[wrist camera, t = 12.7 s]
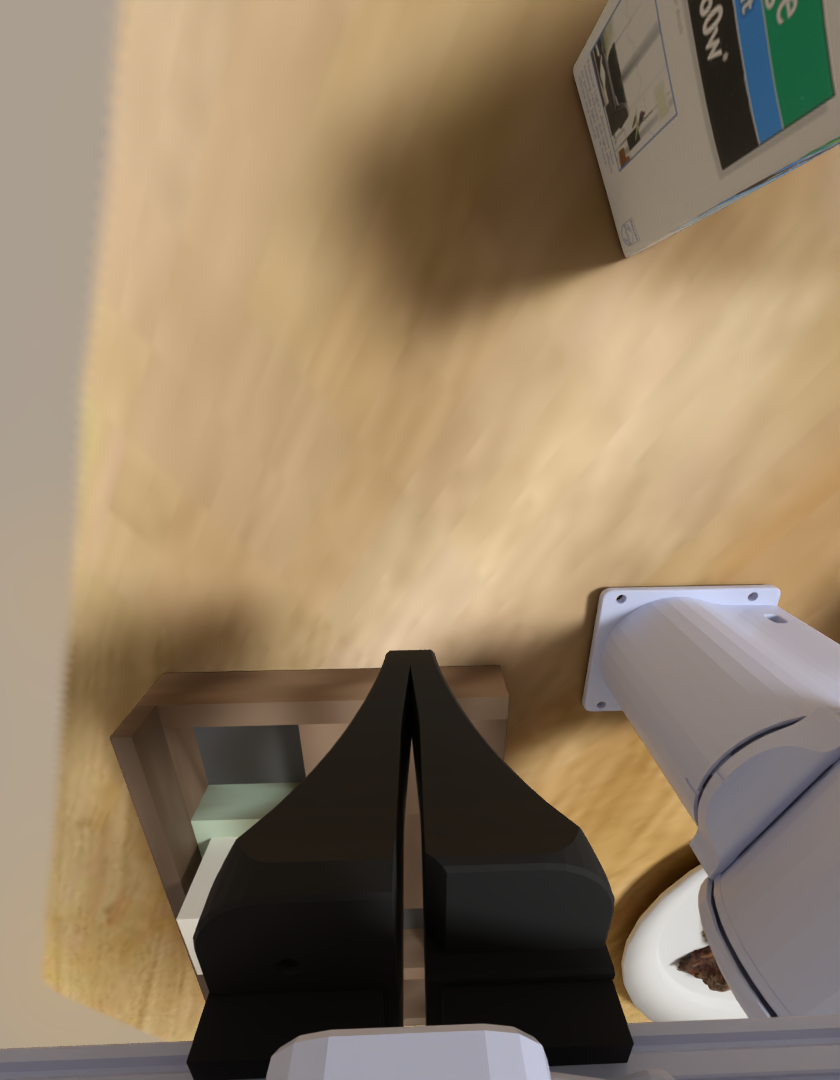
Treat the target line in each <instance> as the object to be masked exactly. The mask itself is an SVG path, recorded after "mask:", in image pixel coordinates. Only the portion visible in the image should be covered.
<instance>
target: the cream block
mask: <svg viewBox="0 0 840 1080" xmlns="http://www.w3.org/2000/svg"><path fill="white" fill-rule="evenodd" d="M237 838H238V837H223V838H211V840H210V842H209V845H208V847H207V849H206V852H205V854H204V856H203V859H202V861H201V863H200V866H199V868H198V870H197V873H196V875H195V877H194V880H193V882H192V884H191V886H190V889H189V891H188V893H187V896H186V898H185V900H184V903H183V905H182V907H181V910H180V912H179V914H178V917H177V919H176V920H177V923H178V925H179V928H180V931H181V933H182V936H183V938H184V941H185V944H186V946H187V949H188V952H189V954H190V957H191V959H192V962H193V965H194V967H195V970H196V973H197V975H203V973H202V970H201V968H200V965H199V962H198V959H197V956H196V953H195V950H194V943H193V935H194V932H195V930H196V927H197V924H198V921H199V919H200V916H201V913H202V911H203V908H204V905H205V903H206V900H207V897H208V895H209V892H210V889H211V887H212V885H213V882H214V880H215V878H216V876H217V874H218V872H219V870H220V868H221V866H222V864H223V862H224V860H225V858H226V857H227V855H228V853H229V851H230V849H231V847H232V846H233V844H234V842H235V840H236V839H237Z"/></svg>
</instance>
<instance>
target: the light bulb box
mask: <svg viewBox="0 0 840 1080" xmlns="http://www.w3.org/2000/svg"><path fill="white" fill-rule="evenodd" d="M573 74H574V78H575V81H576V85H577V89H578V92H579V96H580V100H581V103H582V107H583V110H584V114H585V117H586V121H587V124H588V128H589V131H590V135H591V139H592V142H593V146H594V149H595V153H596V156H597V160H598V164H599V167H600V171H601V174H602V178H603V182H604V185H605V189H606V192H607V196H608V200H609V203H610V207H611V210H612V214H613V218H614V221H615V225H616V229H617V232H618V236H619V239H620V243H621V246H622V249H623V253H624V255H625V257H631V256H633V255H635V254H637V253H639V252H641V251H643V250H645V249H647V248H649V247H651V246H652V245H654V244H656V243H658V242H660V241H662V240H664V239H666V238H668V237H670V236H672V235H674V234H676V233H678V232H680V231H681V230H683V229H685V228H687V227H689V226H691V225H693V224H694V223H696V222H698V221H700V220H702V219H704V218H706V217H707V216H709V215H711V214H713V213H715V212H717V211H719V210H721V209H723V208H724V207H726V206H728V205H730V204H732V203H734V202H736V201H737V200H739V199H741V198H743V197H745V196H747V195H749V194H750V193H752V192H754V191H756V190H758V189H760V188H762V187H763V186H765V185H767V184H769V183H771V182H772V181H774V180H776V179H778V178H780V177H781V176H783V175H785V174H787V173H789V172H790V171H792V170H794V169H796V168H798V167H799V166H801V165H803V164H805V163H806V162H808V161H810V160H812V159H814V158H815V157H817V156H819V155H821V154H823V153H824V152H826V151H828V150H830V149H832V148H833V147H835V146H837V145H839V144H840V0H608V2H607V4H606V6H605V8H604V10H603V12H602V14H601V16H600V18H599V20H598V22H597V23H596V25H595V27H594V29H593V31H592V33H591V35H590V37H589V38H588V40H587V42H586V44H585V46H584V48H583V50H582V52H581V54H580V56H579V58H578V60H577V61H576V63H575V65H574V68H573Z"/></svg>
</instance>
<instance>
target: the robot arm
mask: <svg viewBox="0 0 840 1080" xmlns="http://www.w3.org/2000/svg"><path fill="white" fill-rule="evenodd" d="M751 593H752V594H751ZM749 594H751V595H750V596H749ZM780 594H781V592H780V590H779V589H778V588H776V587H775V586H773V585H730V586H678V587H626V588H607V589H605V590H603V591H602V592H601V594H600V597H599V603H598V609H597V615H596V621H595V627H594V633H593V639H592V645H591V651H590V657H589V663H588V669H587V675H586V681H585V687H584V693H583V699H582V704H583V706H584V708H585V709H586V710H587V711H623V712H624V714H625V715H626V717H627V718H628V720H629V721H630V723H631V725H632V726H633V728H634V729H635V731H636V732H637V734H638V735H639V737H640V738H641V740H642V742H643V743H644V745H645V746H646V748H647V749H648V751H649V752H650V754H651V756H652V757H653V759H654V760H655V762H656V763H657V765H658V766H659V768H660V769H661V771H662V773H663V774H664V776H665V777H666V779H667V780H668V782H669V783H670V785H671V786H672V788H673V790H674V791H675V793H676V794H677V796H678V797H679V799H680V800H681V802H682V803H683V805H684V807H685V808H686V810H687V811H688V813H689V814H690V816H691V817H692V819H693V820H694V822H695V824H696V825H697V827H698V830H697V833H696V835H695V836H694V838H693V839H692V840H691V842H690V844H689V845H690V847H691V849H692V850H693V852H694V854H695V855H696V857H697V858H698V860H699V862H700V863H701V865H702V867H703V868H704V870H705V872H706V873H707V875H708V877H707V878H706V879H705V880H704V881H703V883H702V884H701V886H700V890H699V894H698V909H699V914H700V919H701V923H702V926H703V929H704V932H705V935H706V938H707V941H708V944H709V946H710V948H711V950H712V953H713V955H714V957H715V960H716V962H717V964H718V966H719V968H720V971H721V973H722V975H723V977H724V979H725V980H726V982H727V984H728V986H729V988H730V990H731V991H732V993H733V995H734V996H735V998H736V1000H737V1001H738V1003H739V1005H740V1006H741V1008H742V1009H743V1011H744V1012H745V1014H746V1015H747V1017H748V1018H742V1019H717V1020H693V1021H669V1022H644V1023H627V1022H626V1019H625V1016H624V1013H623V1010H622V1007H621V1004H620V1001H619V998H618V995H617V992H616V989H615V986H614V983H613V980H612V979H614V976H615V972H614V967H613V964H612V961H611V958H610V955H609V952H608V949H607V947H606V944H605V943H606V939H607V935H608V931H609V927H610V924H611V920H612V916H613V912H614V896H613V893H612V891H611V887H610V884H609V882H608V879H607V877H606V874H605V872H604V870H603V868H602V866H601V864H600V862H599V860H598V858H597V856H596V854H595V853H594V851H593V849H592V847H591V845H590V843H589V842H588V840H587V838H586V836H585V835H584V833H583V831H582V830H581V828H580V827H578V826H577V825H576V824H575V823H573V822H572V821H571V820H569V819H568V818H567V817H565V816H564V815H563V814H562V813H560V812H559V811H558V810H556V809H555V808H554V807H552V806H551V805H550V804H549V803H547V802H546V801H545V800H544V799H543V798H542V797H540V796H539V795H538V794H537V793H536V792H535V791H534V790H533V789H531V788H530V787H529V786H528V785H527V784H526V783H525V782H524V781H523V780H522V779H521V778H520V777H519V776H518V775H517V774H516V773H515V772H514V771H513V770H512V769H511V768H510V767H509V766H508V765H507V764H506V763H505V762H504V761H503V760H502V759H501V758H500V757H499V755H498V754H497V753H496V752H495V751H494V750H493V749H492V748H491V746H490V745H489V744H488V743H487V742H486V740H485V739H484V738H483V737H482V735H481V734H480V733H479V732H478V730H477V729H476V728H475V726H474V725H473V724H472V722H471V721H470V719H469V718H468V716H467V715H466V713H465V712H464V711H463V709H462V707H461V706H460V704H459V703H458V701H457V700H456V698H455V696H454V694H453V693H452V691H451V689H450V687H449V686H448V684H447V682H446V680H445V678H444V676H443V674H442V672H441V670H440V668H439V665H438V663H437V660H436V657H435V653H434V652H433V651H432V650H399V651H389V652H388V653H387V654H386V656H385V660H384V662H383V665H382V667H381V670H380V672H379V674H378V676H377V678H376V680H375V682H374V684H373V686H372V688H371V690H370V692H369V693H368V695H367V697H366V699H365V701H364V702H363V704H362V705H361V707H360V709H359V710H358V712H357V713H356V715H355V716H354V718H353V720H352V721H351V723H350V724H349V725H348V727H347V728H346V730H345V731H344V733H343V734H342V735H341V737H340V738H339V739H338V740H337V742H336V743H335V744H334V746H333V747H332V748H331V749H330V751H329V752H328V753H327V754H326V755H325V756H324V758H323V759H322V760H321V761H320V762H319V763H318V765H317V766H316V767H315V768H314V769H313V770H312V771H311V772H310V773H309V774H308V775H307V776H306V778H305V779H304V780H302V781H301V782H300V783H299V784H298V785H297V786H296V787H295V788H294V789H293V790H292V791H291V792H290V793H289V794H288V795H287V796H286V797H285V798H284V799H283V800H282V801H281V802H280V803H279V804H278V805H277V806H275V807H274V808H273V809H272V810H271V811H270V812H269V813H267V814H266V815H265V816H264V817H263V818H261V819H260V820H259V821H258V822H257V823H255V824H254V825H253V826H252V827H251V828H249V829H248V830H247V831H246V832H245V833H243V834H242V835H241V836H240V837H238V838H237V839H236V840H235V842H234V844H233V846H232V847H231V849H230V851H229V853H228V855H227V857H226V858H225V860H224V862H223V864H222V866H221V868H220V870H219V872H218V874H217V876H216V878H215V880H214V882H213V885H212V887H211V889H210V892H209V895H208V897H207V900H206V903H205V905H204V908H203V911H202V913H201V916H200V919H199V921H198V924H197V927H196V930H195V932H194V935H193V943H194V950H195V953H196V956H197V959H198V962H199V965H200V968H201V970H202V973H203V976H204V979H205V982H206V985H207V987H208V990H209V994H208V997H207V1000H206V1003H205V1006H204V1009H203V1012H202V1015H201V1018H200V1021H199V1024H198V1028H197V1031H196V1034H195V1037H194V1040H193V1041H179V1042H155V1043H131V1044H107V1045H83V1046H57V1047H33V1048H9V1049H0V1080H840V644H838V643H837V642H835V641H833V640H832V639H830V638H829V637H827V636H825V635H824V634H822V633H820V632H819V631H817V630H815V629H814V628H812V627H811V626H809V625H807V624H806V623H804V622H802V621H801V620H799V619H798V618H796V617H794V616H793V615H791V614H789V613H788V612H786V611H784V610H783V609H781V608H780V607H778V606H777V604H778V601H779V598H780ZM619 595H623V596H622V598H621V599H619V600H616V599H617V597H618V596H619ZM748 596H749V597H748ZM599 702H601V703H599ZM598 703H599V704H598ZM411 740H412V746H413V755H414V765H415V774H416V783H417V793H418V802H419V811H420V824H421V848H422V888H423V929H424V971H425V1014H426V1026H413V1027H404V825H405V810H406V798H407V787H408V775H409V764H410V752H411Z"/></svg>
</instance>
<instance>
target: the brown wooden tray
mask: <svg viewBox="0 0 840 1080" xmlns="http://www.w3.org/2000/svg"><path fill="white" fill-rule="evenodd" d="M439 668H440V670H441V672H442V674H443V676H444V678H445V680H446V682H447V684H448V686H449V687H450V689H451V691H452V693H453V694H454V696H455V698H456V700H457V701H458V703H459V704H460V706H461V707H462V709H463V711H464V712H465V713H466V715H467V716H468V718H469V719H470V721H471V722H472V724H473V725H474V726H475V728H476V729H477V730H478V732H479V733H480V734H481V735H482V737H483V738H484V739H485V740H486V742H487V743H488V744H489V745H490V746H491V748H492V749H493V750H494V751H495V752H496V753H497V754H498V755H499V757H500V758H501V759H502V760H503V761H504V753H505V741H506V730H507V718H508V707H509V694H508V691H507V688H506V684H505V681H504V678H503V675H502V672H501V669H500V666H458V667H439ZM380 670H381V668H371V669H328V670H285V671H241V672H198V673H163V674H162V675H161V677H160V678H159V679H158V680H157V681H156V683H155V684H154V685H153V686H152V687H151V689H150V690H149V691H148V692H147V693H146V695H145V696H144V697H143V698H142V699H141V701H140V702H139V703H138V704H137V705H136V707H135V708H134V709H133V710H132V711H131V712H130V714H129V715H128V716H127V717H126V718H125V720H124V721H123V722H122V723H121V724H120V726H119V727H118V728H117V729H116V730H115V732H114V733H113V734H112V735H111V736H110V740H111V743H112V745H113V748H114V751H115V754H116V756H117V759H118V762H119V765H120V768H121V770H122V773H123V776H124V779H125V781H126V784H127V787H128V790H129V792H130V795H131V798H132V801H133V803H134V806H135V809H136V812H137V814H138V817H139V820H140V823H141V825H142V828H143V831H144V834H145V836H146V839H147V842H148V845H149V847H150V850H151V853H152V856H153V858H154V861H155V864H156V867H157V869H158V872H159V875H160V878H161V880H162V883H163V886H164V889H165V892H166V894H167V897H168V900H169V903H170V905H171V908H172V911H173V914H174V916H175V919H177V917H178V914H179V912H180V910H181V907H182V905H183V903H184V900H185V898H186V896H187V893H188V891H189V889H190V886H191V884H192V882H193V880H194V877H195V875H196V873H197V870H198V868H199V866H200V863H201V861H202V859H203V856H204V854H205V852H206V849H207V847H208V845H209V842H210V840H211V838H223V837H240V836H241V835H242V834H243V833H245V832H246V831H247V830H248V829H249V828H251V827H252V826H253V825H254V824H255V823H257V822H258V821H259V820H260V819H261V818H263V817H264V816H265V815H266V814H267V813H269V812H270V811H271V810H272V809H273V808H274V807H275V806H277V805H278V804H279V803H280V802H281V801H282V800H283V799H284V798H285V797H286V796H287V795H288V794H289V793H290V792H291V791H292V790H293V789H294V788H295V787H296V786H297V785H298V784H299V783H300V782H301V781H302V780H304V779H305V778H306V776H307V775H308V774H309V773H310V772H311V771H312V770H313V769H314V768H315V767H316V766H317V765H318V763H319V762H320V761H321V760H322V759H323V758H324V756H325V755H326V754H327V753H328V752H329V751H330V749H331V748H332V747H333V746H334V744H335V743H336V742H337V740H338V739H339V738H340V737H341V735H342V734H343V733H344V731H345V730H346V728H347V727H348V725H349V724H350V723H351V721H352V720H353V718H354V716H355V715H356V713H357V712H358V710H359V709H360V707H361V705H362V704H363V702H364V701H365V699H366V697H367V695H368V693H369V692H370V690H371V688H372V686H373V684H374V682H375V680H376V678H377V676H378V674H379V672H380ZM176 922H177V920H176ZM177 925H178V923H177ZM178 927H179V925H178ZM179 930H180V928H179ZM180 933H181V931H180ZM181 936H182V933H181ZM182 938H183V936H182ZM183 941H184V938H183ZM184 944H185V941H184ZM185 947H186V949H187V946H186V944H185ZM187 952H188V949H187ZM188 955H189V958H190V960H191V963H192V966H193V969H194V971H195V974H196V977H197V980H198V982H199V985H200V988H201V991H202V993H203V996H204V999H205V1002H206V1000H207V997H208V994H209V990H208V987H207V985H206V982H205V979H204V976H203V975H197V973H196V970H195V967H194V965H193V962H192V959H191V957H190V954H189V952H188ZM417 1025H426V1014H425V971H424V929H423V888H422V848H421V824H420V811H419V802H418V793H417V783H416V774H415V765H414V755H413V746H412V740H411V752H410V764H409V775H408V787H407V798H406V810H405V825H404V1026H417Z"/></svg>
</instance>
